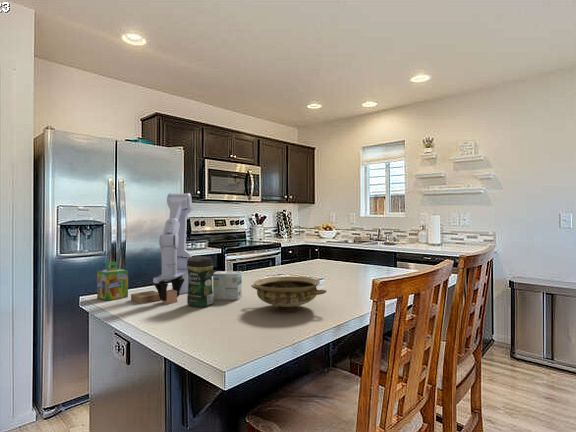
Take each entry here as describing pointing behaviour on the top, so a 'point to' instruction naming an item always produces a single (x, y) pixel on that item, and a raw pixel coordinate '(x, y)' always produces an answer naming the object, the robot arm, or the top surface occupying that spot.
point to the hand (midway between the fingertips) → (169, 298)
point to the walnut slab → (145, 297)
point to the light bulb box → (227, 285)
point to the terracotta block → (170, 296)
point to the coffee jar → (200, 281)
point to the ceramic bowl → (287, 291)
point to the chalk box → (112, 283)
